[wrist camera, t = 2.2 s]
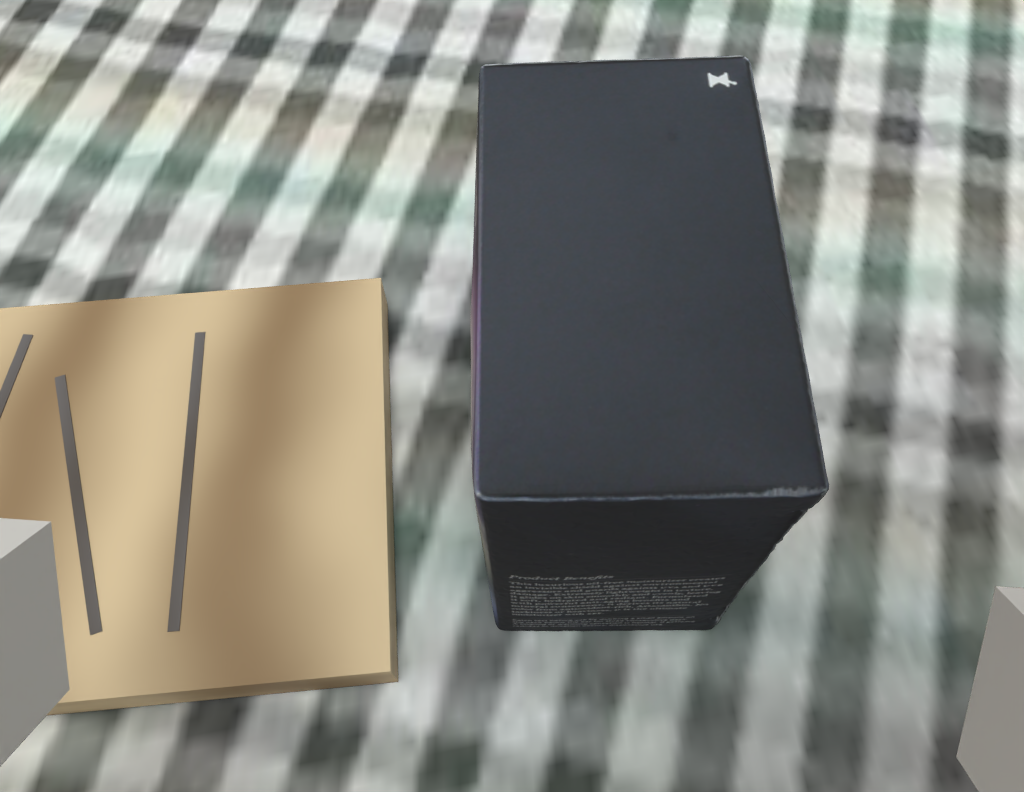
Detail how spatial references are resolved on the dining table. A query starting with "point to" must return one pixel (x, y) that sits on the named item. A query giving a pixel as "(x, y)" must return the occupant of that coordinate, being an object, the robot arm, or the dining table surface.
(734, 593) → the small box
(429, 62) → the dining table surface
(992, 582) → the dining table surface
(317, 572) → the oak board
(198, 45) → the dining table surface
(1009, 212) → the dining table surface
